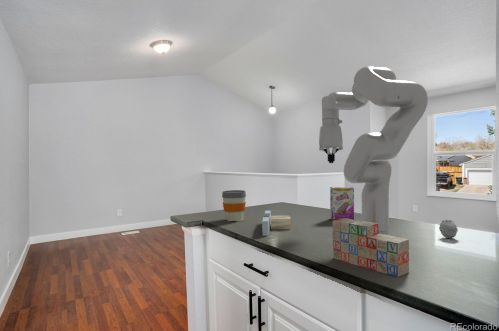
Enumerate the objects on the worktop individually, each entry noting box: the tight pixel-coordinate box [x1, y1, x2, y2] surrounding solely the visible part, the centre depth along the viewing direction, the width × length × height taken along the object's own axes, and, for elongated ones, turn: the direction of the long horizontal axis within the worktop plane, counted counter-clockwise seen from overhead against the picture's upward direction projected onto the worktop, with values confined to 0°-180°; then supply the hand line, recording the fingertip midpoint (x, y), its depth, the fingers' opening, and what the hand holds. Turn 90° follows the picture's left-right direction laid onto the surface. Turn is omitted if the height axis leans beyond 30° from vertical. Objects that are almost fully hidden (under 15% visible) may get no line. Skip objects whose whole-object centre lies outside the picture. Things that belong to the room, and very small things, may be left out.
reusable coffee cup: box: [221, 189, 247, 222], centre depth 165 cm, size 13×13×15 cm
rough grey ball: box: [438, 219, 458, 239], centre depth 120 cm, size 6×7×7 cm
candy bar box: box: [329, 186, 355, 221], centre depth 159 cm, size 11×5×16 cm, turn 84°
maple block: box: [270, 215, 292, 230], centre depth 145 cm, size 7×9×5 cm
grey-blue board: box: [261, 210, 272, 237], centre depth 143 cm, size 26×2×6 cm, turn 174°
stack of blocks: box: [331, 218, 410, 278], centre depth 93 cm, size 21×6×12 cm, turn 36°
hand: (331, 162), depth 146 cm, fingers closed
